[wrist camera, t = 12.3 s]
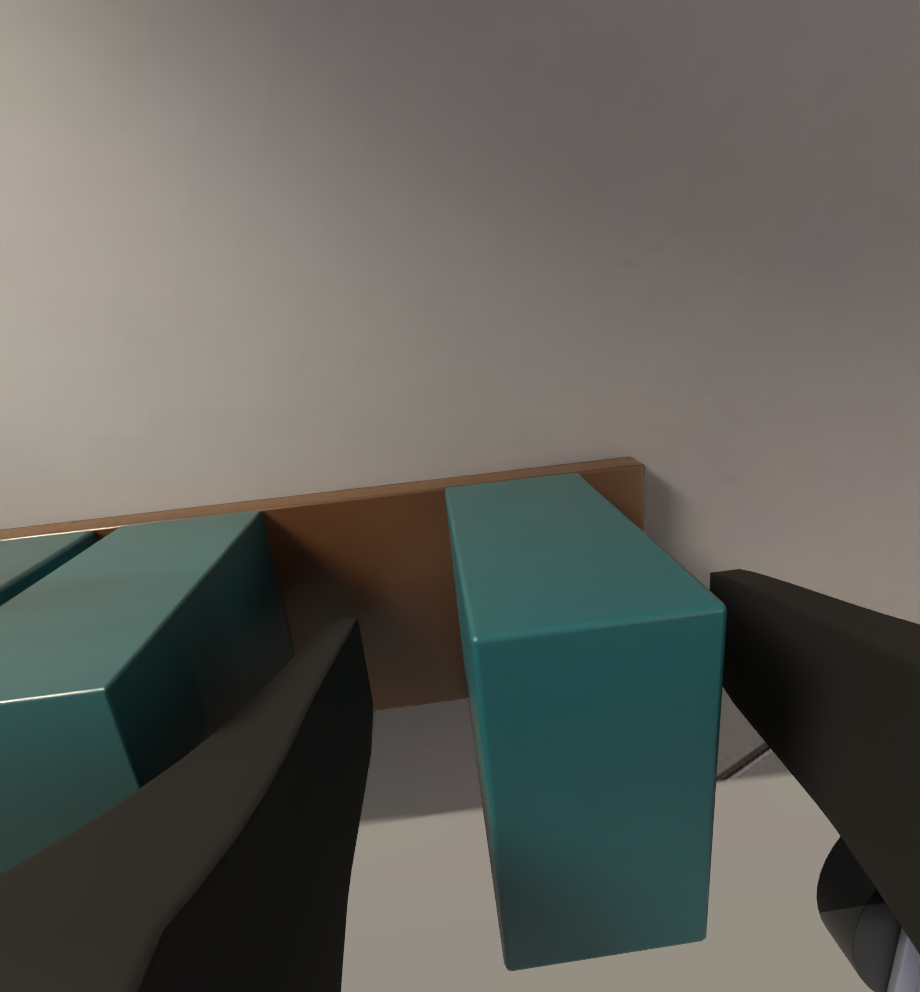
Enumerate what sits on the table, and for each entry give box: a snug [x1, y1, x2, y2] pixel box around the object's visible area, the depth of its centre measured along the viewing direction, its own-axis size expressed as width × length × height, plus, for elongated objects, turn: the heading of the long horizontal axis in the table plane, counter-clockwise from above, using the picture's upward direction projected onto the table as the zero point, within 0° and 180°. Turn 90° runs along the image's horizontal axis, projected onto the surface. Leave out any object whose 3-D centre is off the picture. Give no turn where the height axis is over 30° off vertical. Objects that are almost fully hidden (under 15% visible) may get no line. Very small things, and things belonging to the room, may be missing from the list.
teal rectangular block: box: [445, 473, 727, 971], centre depth 10 cm, size 3×6×6 cm, turn 6°
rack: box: [0, 457, 645, 873], centre depth 10 cm, size 6×18×7 cm, turn 96°
